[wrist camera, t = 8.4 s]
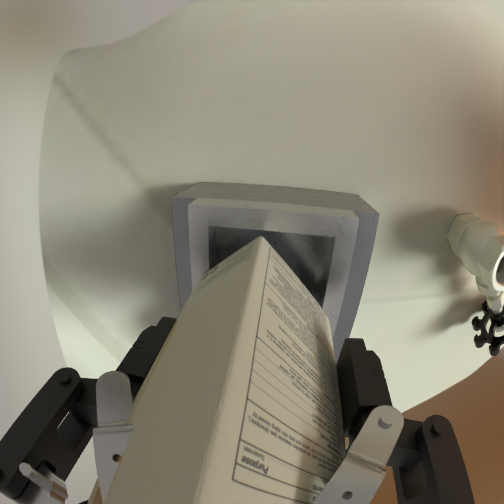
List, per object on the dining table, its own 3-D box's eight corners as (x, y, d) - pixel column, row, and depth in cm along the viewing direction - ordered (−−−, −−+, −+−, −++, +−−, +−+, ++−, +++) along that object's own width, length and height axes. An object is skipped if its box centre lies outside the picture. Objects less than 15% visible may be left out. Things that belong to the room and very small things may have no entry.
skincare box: (197, 277, 14) (68, 501, 3) (263, 230, 13) (161, 551, 2) (270, 354, 16) (236, 558, 5) (334, 322, 14) (351, 559, 3)
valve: (425, 236, 18) (462, 326, 21) (468, 276, 12) (489, 369, 15) (479, 191, 16) (506, 288, 18) (531, 214, 10) (539, 324, 12)
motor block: (357, 194, 18) (404, 238, 10) (325, 350, 23) (331, 429, 15) (200, 182, 19) (139, 215, 11) (206, 337, 24) (176, 410, 17)
